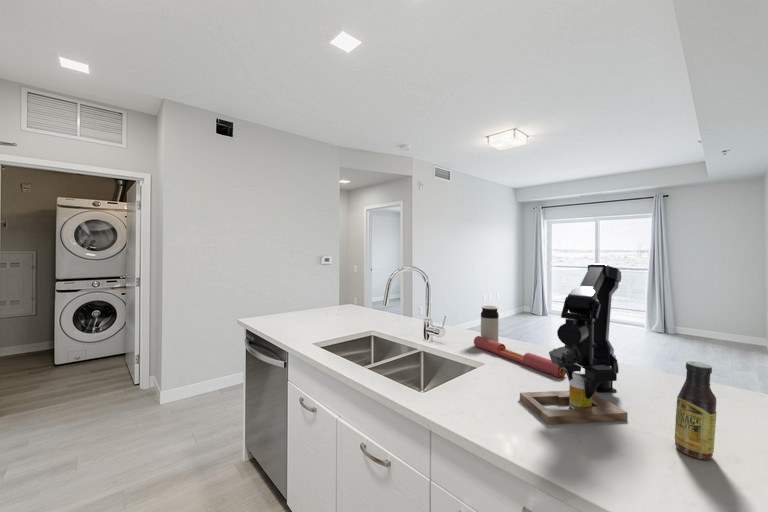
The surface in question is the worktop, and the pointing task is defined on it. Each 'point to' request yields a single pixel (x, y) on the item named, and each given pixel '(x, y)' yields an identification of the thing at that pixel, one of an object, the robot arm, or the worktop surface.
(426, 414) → the worktop surface
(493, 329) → the travel mug
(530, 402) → the brown wooden frame
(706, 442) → the sauce bottle
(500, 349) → the blood vessel
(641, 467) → the worktop surface
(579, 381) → the supplement bottle
